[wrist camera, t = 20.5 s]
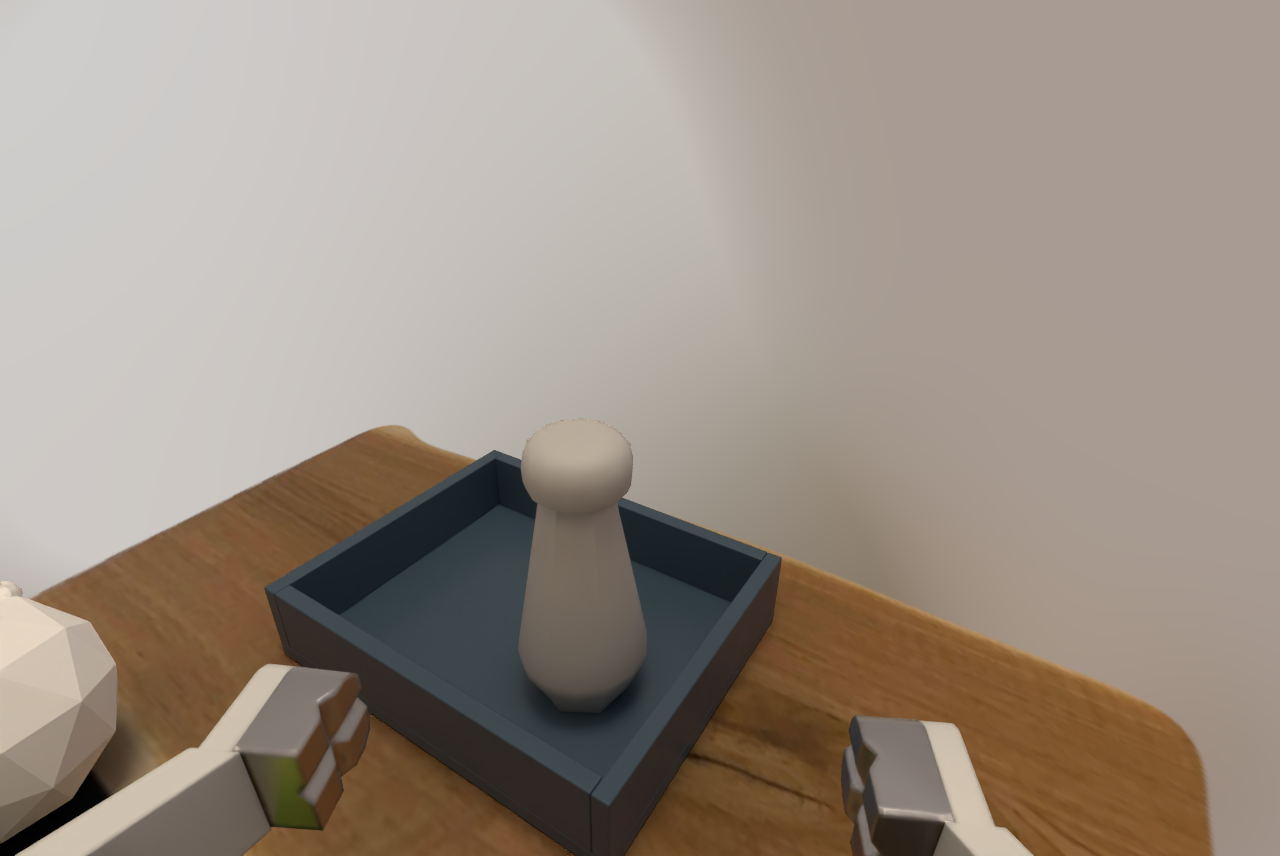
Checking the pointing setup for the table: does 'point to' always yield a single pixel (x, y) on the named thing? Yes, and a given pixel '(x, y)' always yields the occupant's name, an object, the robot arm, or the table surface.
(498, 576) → the tray
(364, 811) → the table surface
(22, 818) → the decorative ball
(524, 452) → the salt shaker
